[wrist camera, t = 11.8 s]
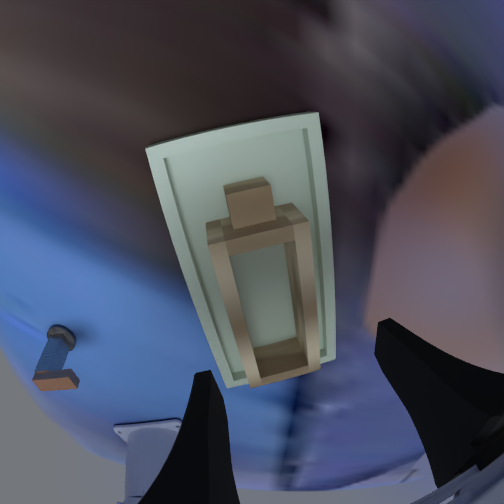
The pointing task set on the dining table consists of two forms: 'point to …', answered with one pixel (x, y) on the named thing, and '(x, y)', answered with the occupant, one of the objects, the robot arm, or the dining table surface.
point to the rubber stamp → (56, 361)
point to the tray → (215, 207)
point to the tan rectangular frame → (299, 271)
